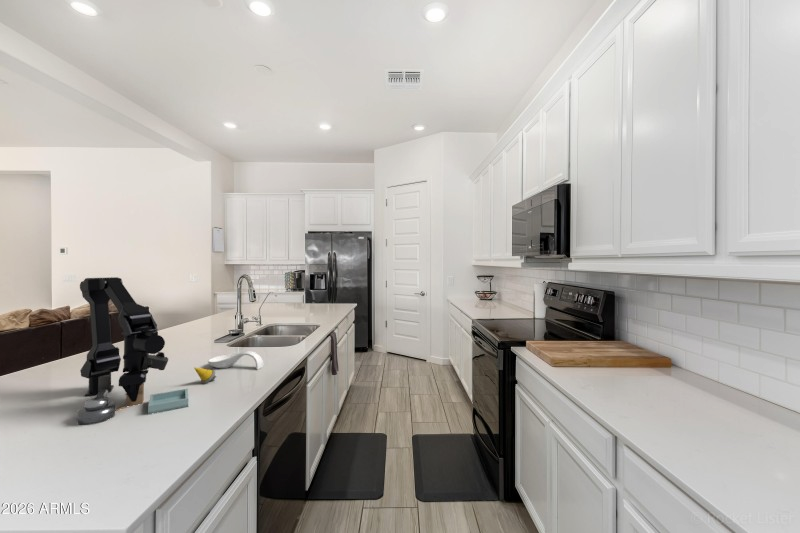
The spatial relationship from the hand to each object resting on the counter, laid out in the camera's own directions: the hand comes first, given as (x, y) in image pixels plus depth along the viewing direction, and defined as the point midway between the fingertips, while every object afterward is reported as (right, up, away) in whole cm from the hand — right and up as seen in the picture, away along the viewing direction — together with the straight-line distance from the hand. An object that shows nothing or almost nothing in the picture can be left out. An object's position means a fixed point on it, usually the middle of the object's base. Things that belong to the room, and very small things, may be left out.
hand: (135, 398), depth 104 cm
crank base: (-2, -2, -9) cm, 10 cm away
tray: (+11, -2, -1) cm, 12 cm away
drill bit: (+12, -2, +18) cm, 22 cm away
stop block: (0, -2, 0) cm, 2 cm away
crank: (-6, +2, -6) cm, 8 cm away
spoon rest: (+13, -2, +38) cm, 40 cm away
